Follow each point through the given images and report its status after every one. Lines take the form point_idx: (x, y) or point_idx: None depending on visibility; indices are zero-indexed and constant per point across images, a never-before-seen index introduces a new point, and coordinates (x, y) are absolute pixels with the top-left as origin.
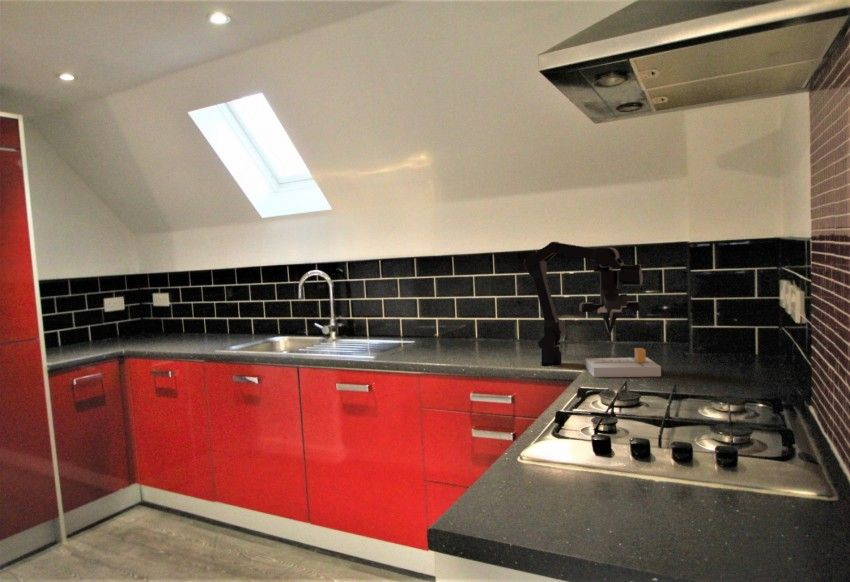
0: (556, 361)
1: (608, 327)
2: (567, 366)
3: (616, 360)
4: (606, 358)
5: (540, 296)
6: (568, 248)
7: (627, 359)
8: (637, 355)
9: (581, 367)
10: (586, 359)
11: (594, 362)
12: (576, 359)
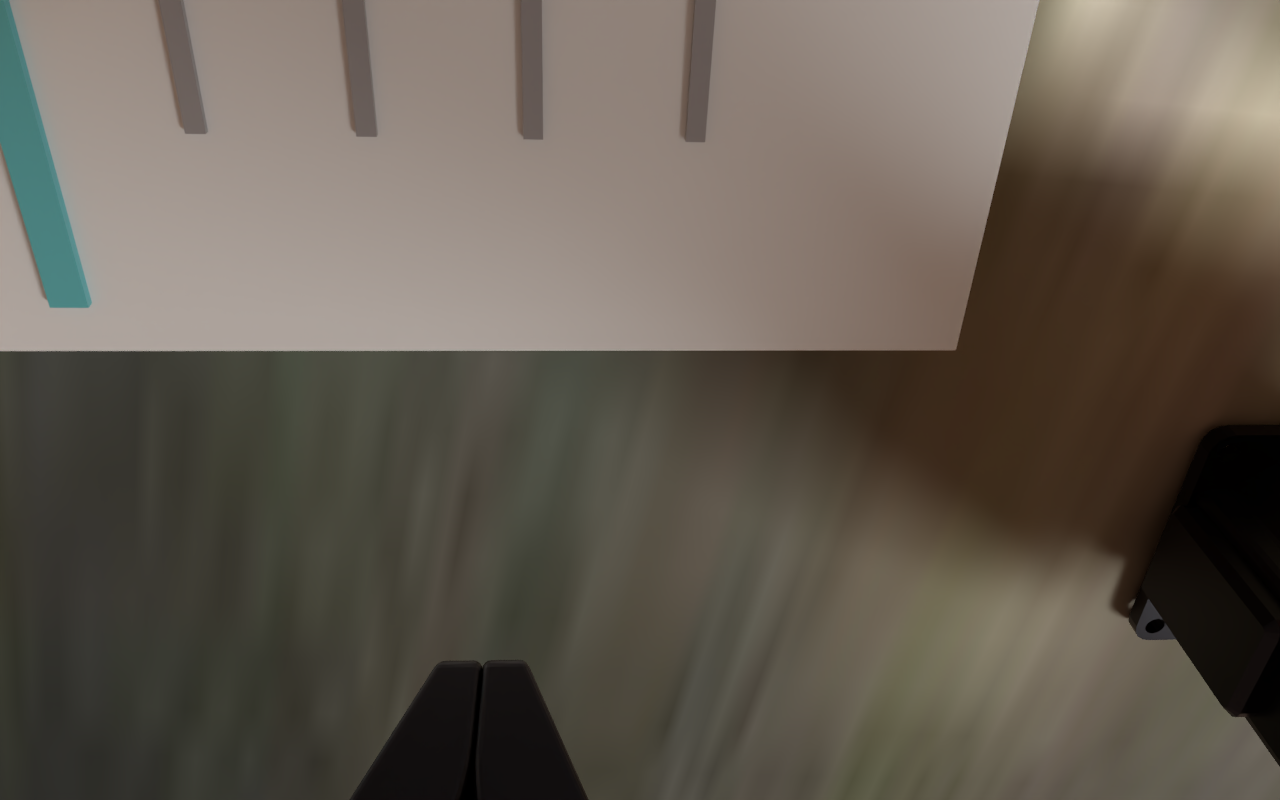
0: (1274, 496)
1: (543, 797)
2: (1118, 400)
3: (418, 80)
4: (579, 316)
5: None
6: None
7: (172, 170)
8: None
9: None
10: (975, 256)
11: None
12: (830, 772)
